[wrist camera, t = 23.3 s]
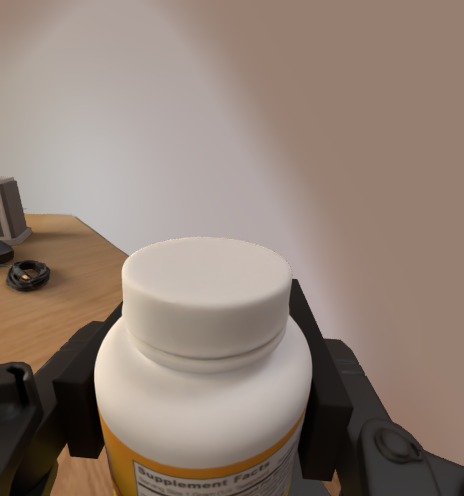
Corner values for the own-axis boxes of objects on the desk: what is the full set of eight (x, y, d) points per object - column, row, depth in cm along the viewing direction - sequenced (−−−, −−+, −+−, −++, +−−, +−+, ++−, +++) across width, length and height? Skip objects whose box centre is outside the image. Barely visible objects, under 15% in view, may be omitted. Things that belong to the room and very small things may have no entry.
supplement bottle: (156, 426, 12) (142, 223, 9) (269, 437, 12) (301, 234, 8) (87, 631, 7) (-17, 318, 3) (289, 654, 7) (393, 351, 3)
